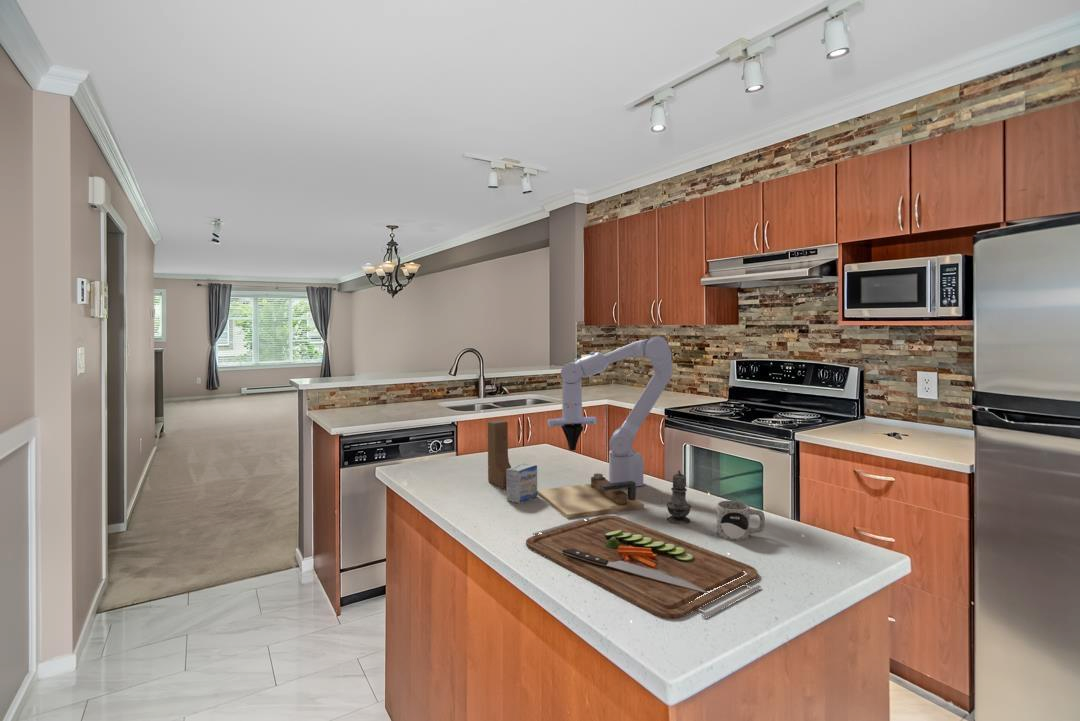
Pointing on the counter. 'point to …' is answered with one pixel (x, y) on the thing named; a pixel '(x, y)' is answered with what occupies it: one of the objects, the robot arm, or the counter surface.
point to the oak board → (583, 501)
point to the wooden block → (498, 452)
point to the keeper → (620, 485)
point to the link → (614, 495)
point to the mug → (736, 520)
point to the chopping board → (643, 564)
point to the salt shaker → (678, 501)
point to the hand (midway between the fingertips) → (572, 449)
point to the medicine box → (521, 482)
